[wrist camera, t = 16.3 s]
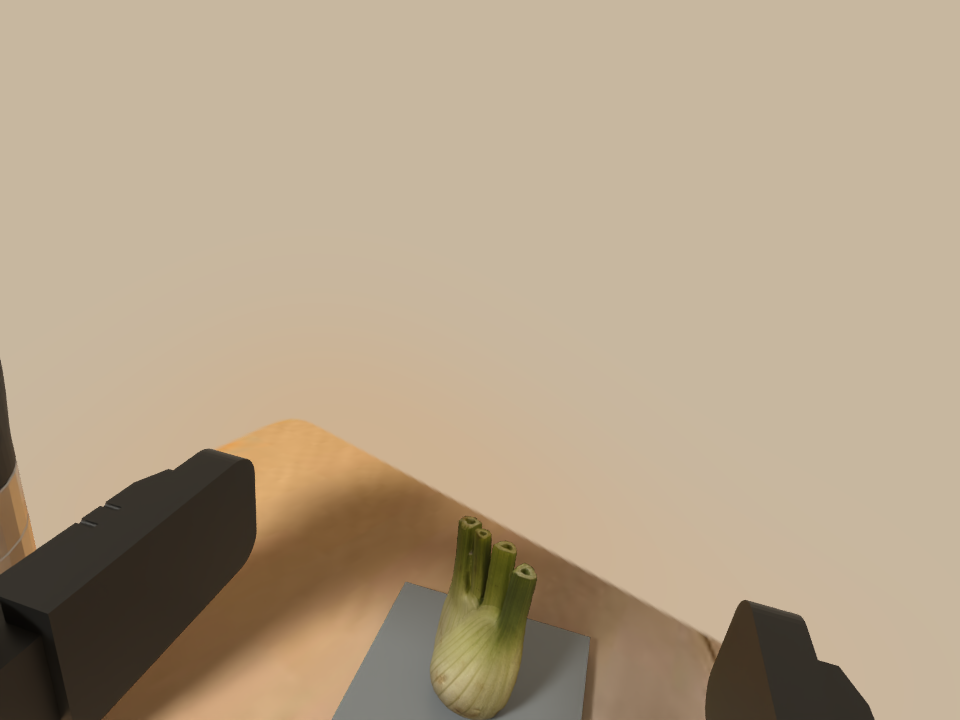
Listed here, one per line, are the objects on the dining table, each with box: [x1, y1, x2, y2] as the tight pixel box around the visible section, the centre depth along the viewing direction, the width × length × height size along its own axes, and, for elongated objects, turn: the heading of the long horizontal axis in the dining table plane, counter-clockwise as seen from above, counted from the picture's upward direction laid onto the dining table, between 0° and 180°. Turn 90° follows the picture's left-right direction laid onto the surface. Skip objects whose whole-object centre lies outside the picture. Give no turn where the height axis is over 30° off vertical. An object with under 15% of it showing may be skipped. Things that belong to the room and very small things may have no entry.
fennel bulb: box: [430, 516, 537, 720], centre depth 34 cm, size 6×5×12 cm
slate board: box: [332, 582, 590, 720], centre depth 36 cm, size 14×14×2 cm
